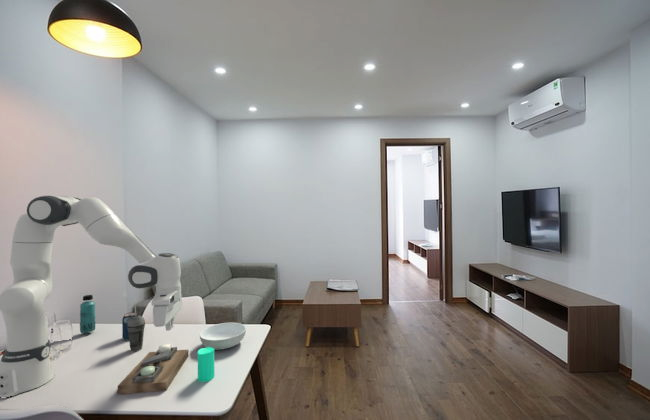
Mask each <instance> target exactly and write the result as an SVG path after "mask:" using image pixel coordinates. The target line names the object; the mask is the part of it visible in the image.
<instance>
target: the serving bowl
mask: <svg viewBox="0 0 650 420" xmlns="http://www.w3.org/2000/svg"><path fill="white" fill-rule="evenodd" d="M246 330H247V328H246V325H244V324H242V323H240V322H222V323H217V324H213V325H210V326H208V327H206V328H204V329H203V330H201V331H200V333H199V340H200V342H201V344H202V345H203V346H204V347H205V348H207V347H211V348H214V350H225V349H228V348H232V347H235V346H237V345H238V344H239V343H241V341H243V340H244V338H245V336H246V332H247V331H246Z"/></svg>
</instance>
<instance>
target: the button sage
mask: <svg viewBox="0 0 650 420" xmlns="http://www.w3.org/2000/svg"><path fill="white" fill-rule="evenodd" d="M154 373H155V367H154V366H147V367H144V368H143V369H141V376H150V375H153V374H154Z"/></svg>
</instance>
